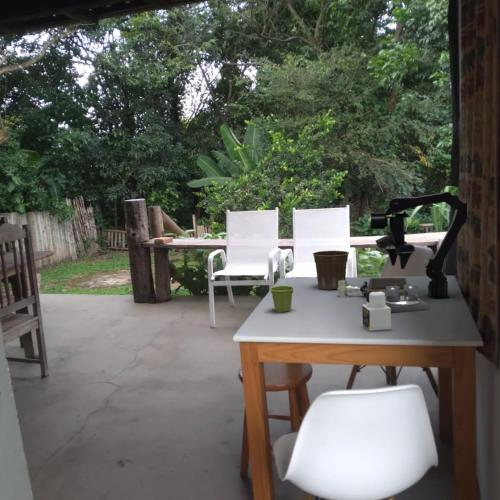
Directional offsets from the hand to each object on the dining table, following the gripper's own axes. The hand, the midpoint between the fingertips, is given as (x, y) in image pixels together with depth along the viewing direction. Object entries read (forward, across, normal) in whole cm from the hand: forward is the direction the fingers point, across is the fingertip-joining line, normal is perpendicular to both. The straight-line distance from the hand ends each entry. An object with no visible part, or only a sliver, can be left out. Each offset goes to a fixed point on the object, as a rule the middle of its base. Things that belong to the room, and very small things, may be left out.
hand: (397, 267), depth 196 cm
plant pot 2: (+12, -27, -20) cm, 36 cm away
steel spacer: (+9, +16, -9) cm, 21 cm away
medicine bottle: (+12, +38, -24) cm, 47 cm away
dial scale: (+12, +16, -7) cm, 21 cm away
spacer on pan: (+9, +16, -2) cm, 19 cm away
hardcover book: (+13, -19, +3) cm, 23 cm away
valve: (+12, -7, -17) cm, 22 cm away
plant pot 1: (+12, +6, -49) cm, 51 cm away
